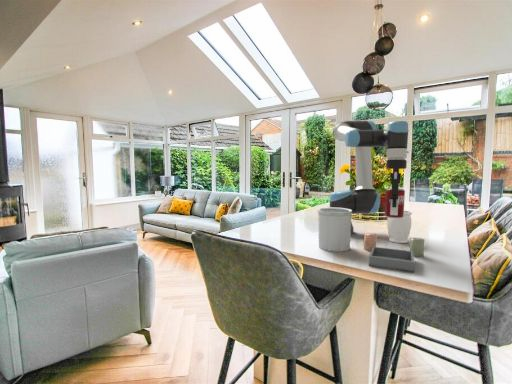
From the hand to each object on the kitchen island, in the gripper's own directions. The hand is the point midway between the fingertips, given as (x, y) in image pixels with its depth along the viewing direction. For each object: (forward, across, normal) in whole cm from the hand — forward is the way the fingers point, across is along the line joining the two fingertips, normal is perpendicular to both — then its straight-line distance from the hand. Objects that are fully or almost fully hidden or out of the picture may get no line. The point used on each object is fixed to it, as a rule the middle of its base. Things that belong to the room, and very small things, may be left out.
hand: (394, 213), depth 117 cm
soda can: (+2, 0, 0) cm, 2 cm away
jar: (+17, +22, -2) cm, 28 cm away
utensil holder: (+17, -4, +24) cm, 30 cm away
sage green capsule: (+17, 0, -9) cm, 19 cm away
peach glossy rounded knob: (+17, 0, +9) cm, 19 cm away
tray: (+17, -15, 0) cm, 23 cm away
